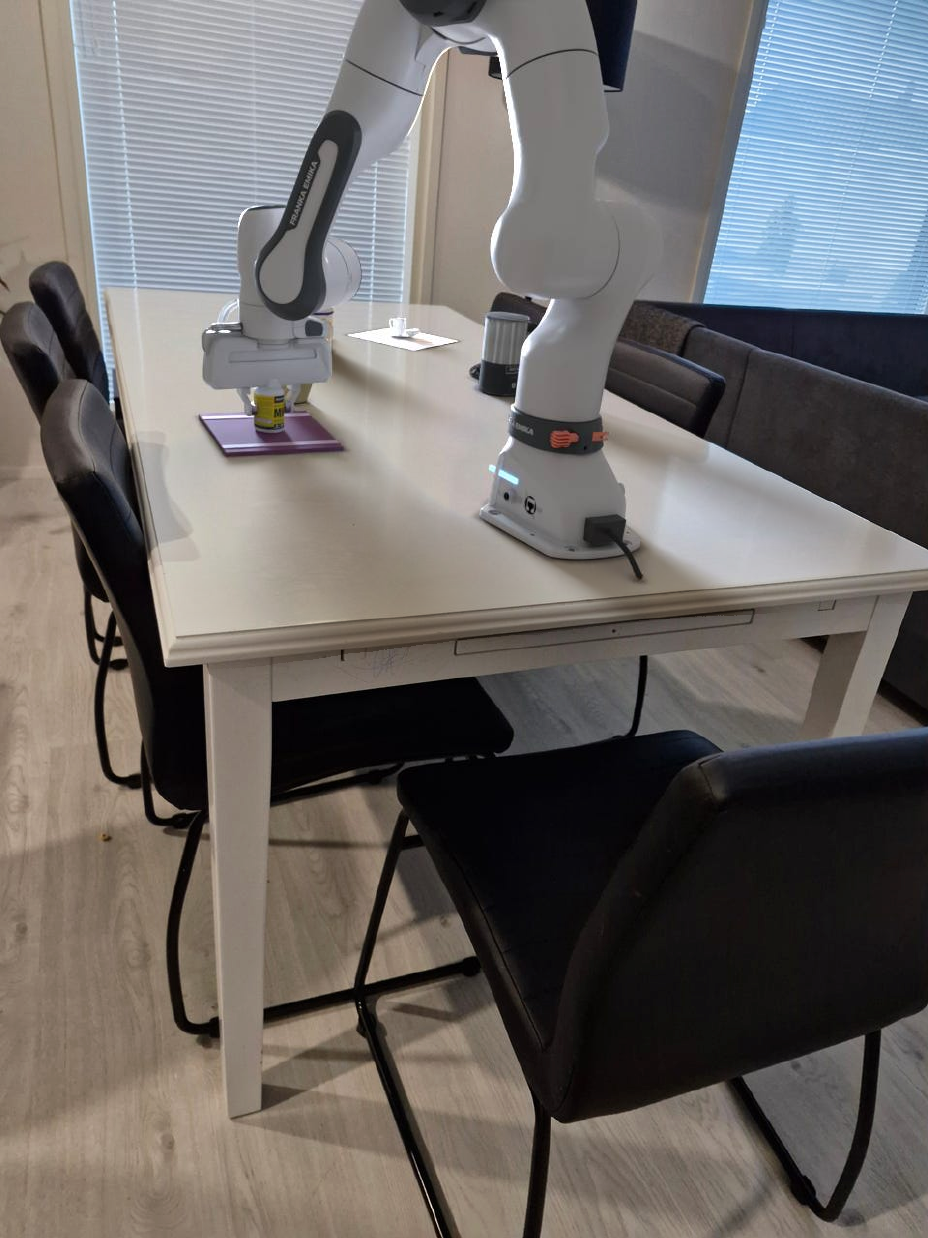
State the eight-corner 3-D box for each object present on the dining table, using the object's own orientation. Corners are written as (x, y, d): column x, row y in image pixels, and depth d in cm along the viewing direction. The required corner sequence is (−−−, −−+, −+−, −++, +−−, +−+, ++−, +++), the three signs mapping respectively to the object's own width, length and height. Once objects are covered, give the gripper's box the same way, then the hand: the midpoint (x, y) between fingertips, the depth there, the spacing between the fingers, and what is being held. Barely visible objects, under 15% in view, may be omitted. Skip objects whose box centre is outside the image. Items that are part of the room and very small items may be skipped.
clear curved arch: (305, 325, 219) (305, 295, 216) (324, 335, 211) (325, 304, 207) (212, 326, 207) (210, 294, 204) (229, 336, 198) (228, 303, 195)
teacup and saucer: (423, 336, 220) (425, 320, 219) (405, 340, 214) (406, 323, 212) (395, 330, 224) (396, 314, 222) (377, 333, 218) (377, 316, 216)
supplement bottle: (277, 435, 136) (277, 381, 132) (249, 431, 137) (248, 377, 133) (289, 427, 140) (289, 375, 136) (261, 423, 141) (260, 370, 137)
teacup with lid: (283, 346, 196) (283, 291, 190) (318, 343, 201) (319, 290, 196) (313, 358, 188) (314, 301, 183) (348, 355, 194) (350, 300, 188)
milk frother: (504, 399, 173) (513, 321, 166) (441, 381, 181) (448, 306, 174) (542, 389, 183) (552, 316, 176) (481, 373, 191) (489, 302, 184)
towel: (344, 450, 135) (344, 446, 135) (226, 456, 127) (226, 451, 127) (305, 413, 150) (305, 409, 150) (198, 417, 143) (198, 413, 142)
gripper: (209, 328, 123) (213, 424, 130) (338, 324, 134) (335, 413, 141) (193, 319, 127) (197, 412, 134) (318, 316, 139) (317, 403, 145)
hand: (269, 413), depth 137 cm, fingers closed on supplement bottle, 5 cm apart
